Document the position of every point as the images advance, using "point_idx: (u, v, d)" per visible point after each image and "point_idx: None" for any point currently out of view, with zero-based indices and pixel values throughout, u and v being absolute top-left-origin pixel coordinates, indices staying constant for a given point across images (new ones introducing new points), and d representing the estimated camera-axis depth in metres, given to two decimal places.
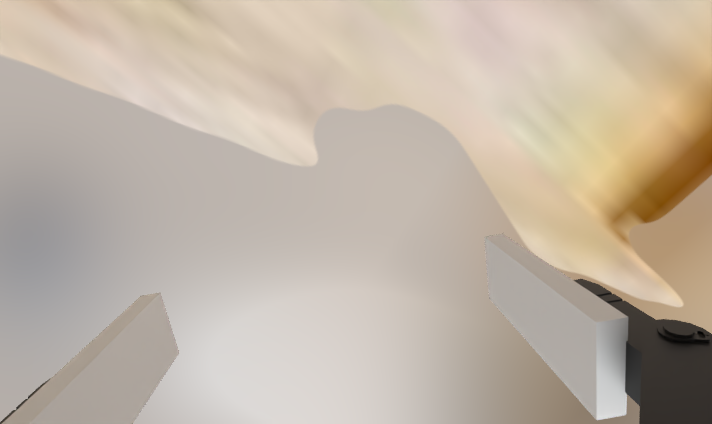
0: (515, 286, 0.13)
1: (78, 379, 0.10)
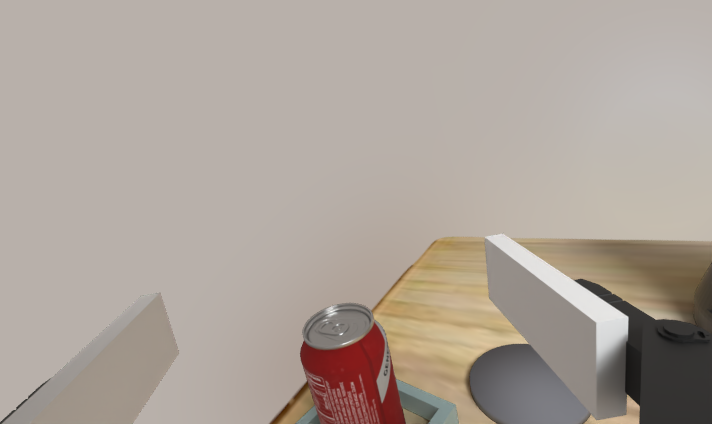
0: (515, 286, 0.13)
1: (78, 379, 0.10)
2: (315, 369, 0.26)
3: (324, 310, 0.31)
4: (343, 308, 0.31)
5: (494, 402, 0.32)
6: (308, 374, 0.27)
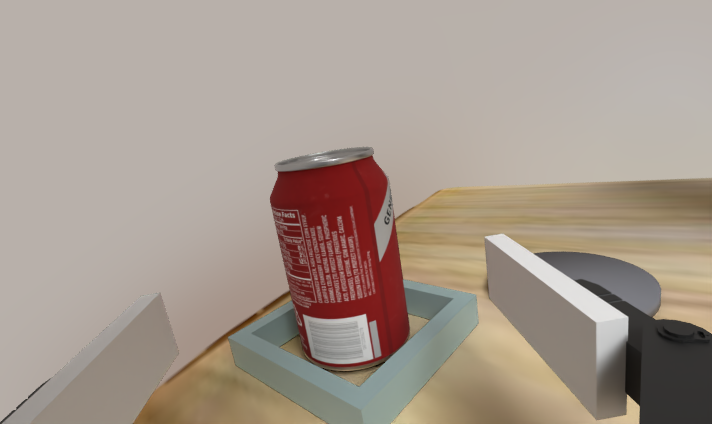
0: (515, 286, 0.13)
1: (78, 379, 0.10)
2: (289, 199, 0.19)
3: (307, 156, 0.23)
4: (332, 156, 0.23)
5: None
6: (278, 214, 0.19)
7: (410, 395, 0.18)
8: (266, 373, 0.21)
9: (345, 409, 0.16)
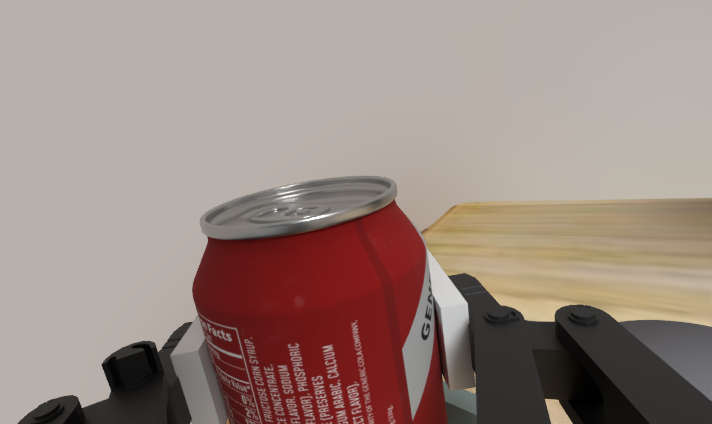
0: None
1: None
2: (218, 301, 0.09)
3: (274, 190, 0.13)
4: (319, 190, 0.13)
5: None
6: (203, 324, 0.09)
7: None
8: None
9: None
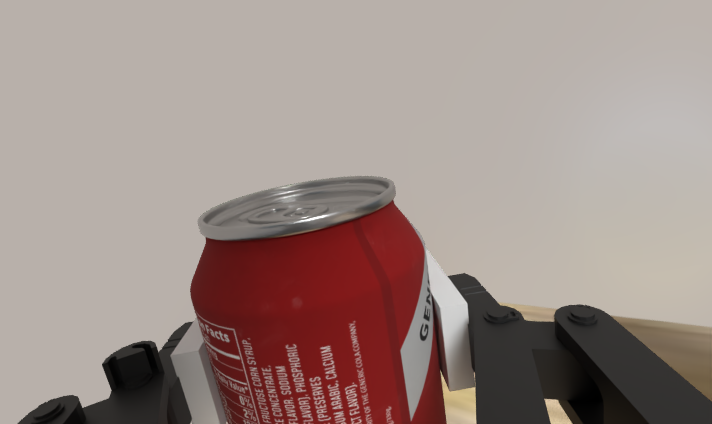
0: None
1: None
2: (217, 302, 0.09)
3: (273, 191, 0.13)
4: (318, 190, 0.13)
5: None
6: (201, 325, 0.09)
7: None
8: None
9: None
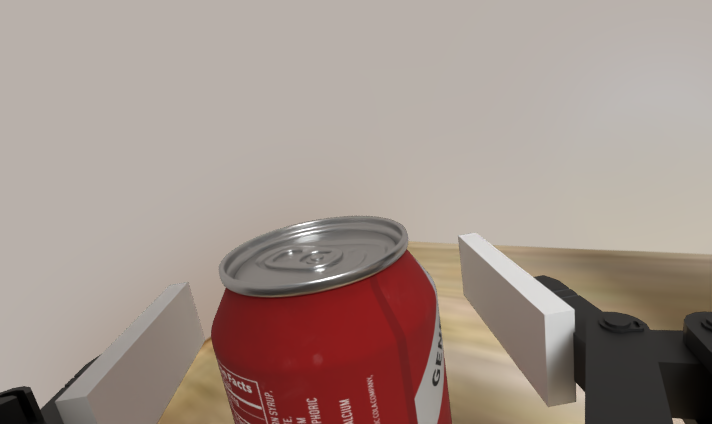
0: (483, 282, 0.13)
1: (124, 358, 0.10)
2: (240, 354, 0.09)
3: (287, 229, 0.13)
4: (330, 228, 0.14)
5: None
6: (223, 372, 0.10)
7: None
8: None
9: None
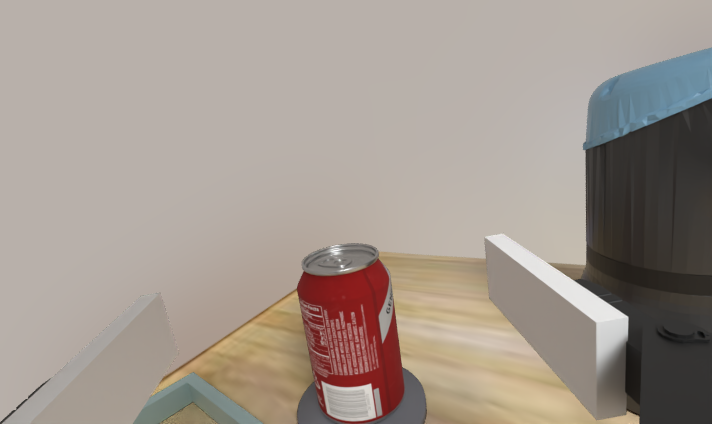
0: (515, 286, 0.13)
1: (78, 379, 0.10)
2: (314, 297, 0.24)
3: (325, 249, 0.29)
4: (345, 248, 0.29)
5: (313, 423, 0.28)
6: (305, 305, 0.25)
7: None
8: None
9: None
